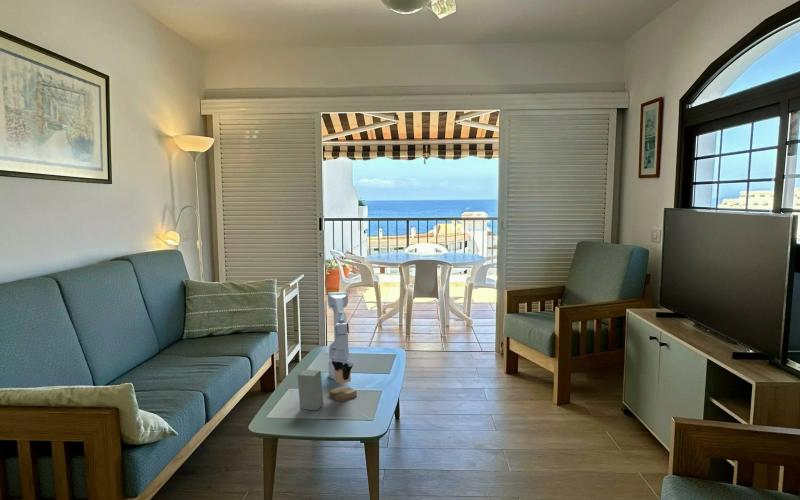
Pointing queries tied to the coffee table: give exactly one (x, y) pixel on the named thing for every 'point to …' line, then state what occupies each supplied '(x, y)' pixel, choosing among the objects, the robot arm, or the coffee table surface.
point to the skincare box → (310, 389)
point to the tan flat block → (342, 393)
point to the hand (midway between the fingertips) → (342, 377)
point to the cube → (341, 377)
